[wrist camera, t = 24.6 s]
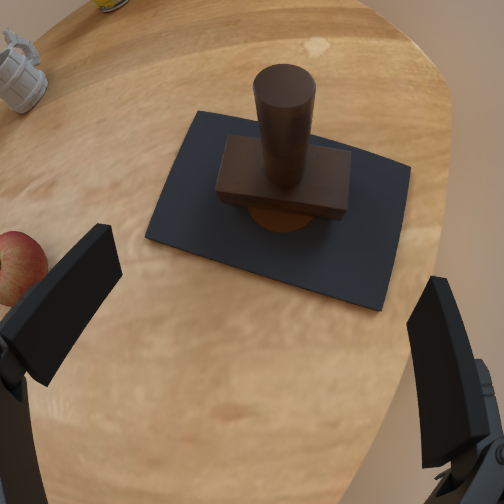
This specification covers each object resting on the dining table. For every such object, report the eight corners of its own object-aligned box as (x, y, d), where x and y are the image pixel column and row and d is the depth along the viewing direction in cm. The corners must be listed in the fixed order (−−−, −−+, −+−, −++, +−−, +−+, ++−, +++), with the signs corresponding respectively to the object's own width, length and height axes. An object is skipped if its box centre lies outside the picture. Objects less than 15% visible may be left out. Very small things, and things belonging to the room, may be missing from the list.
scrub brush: (343, 171, 27) (384, 67, 13) (338, 224, 26) (388, 144, 12) (235, 156, 28) (198, 48, 14) (224, 206, 27) (171, 118, 13)
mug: (10, 121, 34) (-36, 87, 22) (30, 69, 36) (-5, 32, 24) (41, 106, 34) (-7, 64, 22) (62, 53, 36) (26, 10, 24)
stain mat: (409, 169, 27) (411, 166, 26) (379, 311, 25) (381, 311, 24) (199, 113, 30) (197, 109, 29) (146, 238, 28) (143, 236, 27)
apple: (8, 285, 29) (-39, 278, 21) (31, 228, 30) (-15, 210, 22) (43, 322, 28) (-9, 322, 20) (69, 260, 29) (17, 246, 21)
